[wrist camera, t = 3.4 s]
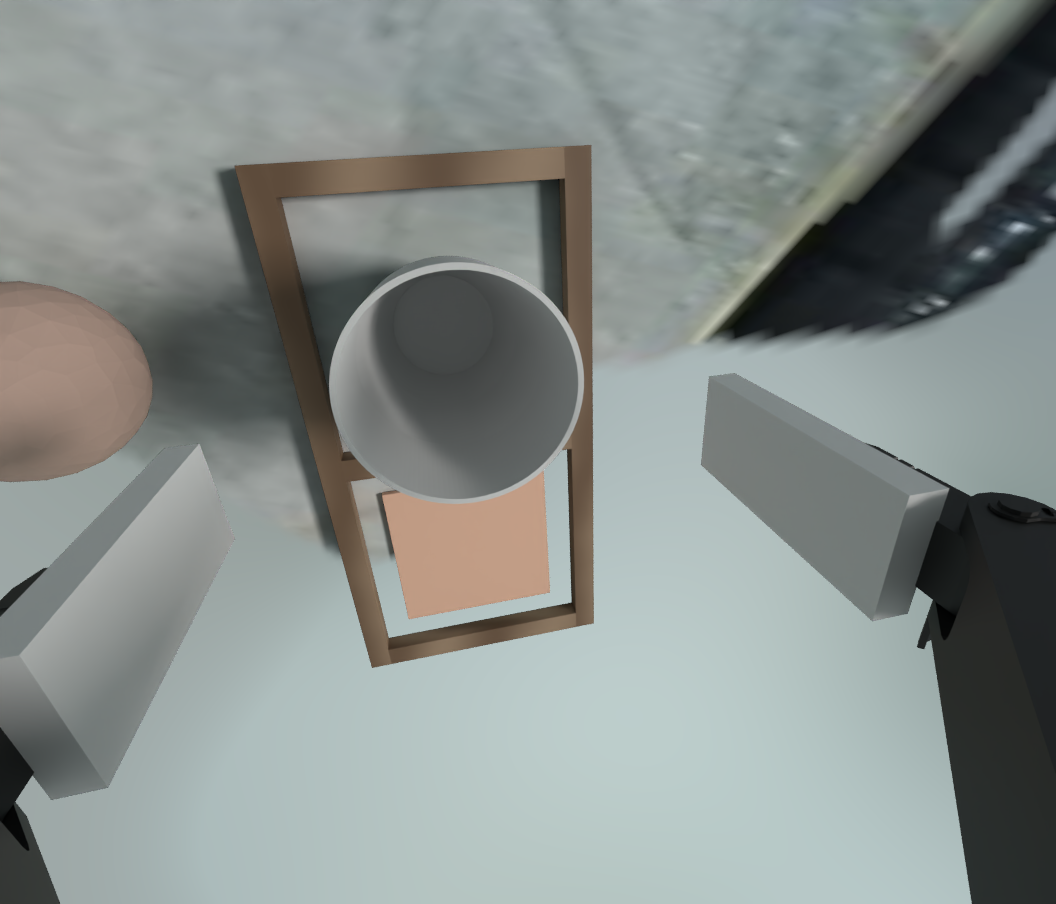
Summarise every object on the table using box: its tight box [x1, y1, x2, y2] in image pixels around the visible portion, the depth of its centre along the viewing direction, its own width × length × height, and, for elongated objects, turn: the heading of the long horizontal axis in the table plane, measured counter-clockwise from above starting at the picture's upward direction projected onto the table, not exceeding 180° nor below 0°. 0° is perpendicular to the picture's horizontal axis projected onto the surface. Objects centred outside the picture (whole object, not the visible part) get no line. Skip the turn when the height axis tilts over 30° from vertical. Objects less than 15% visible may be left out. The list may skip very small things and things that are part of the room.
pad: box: [382, 471, 550, 619], centre depth 32 cm, size 9×9×1 cm
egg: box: [0, 281, 153, 482], centre depth 20 cm, size 7×7×8 cm
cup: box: [329, 256, 584, 504], centre depth 21 cm, size 8×8×10 cm
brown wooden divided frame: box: [235, 145, 594, 668], centre depth 28 cm, size 14×28×1 cm, turn 4°
